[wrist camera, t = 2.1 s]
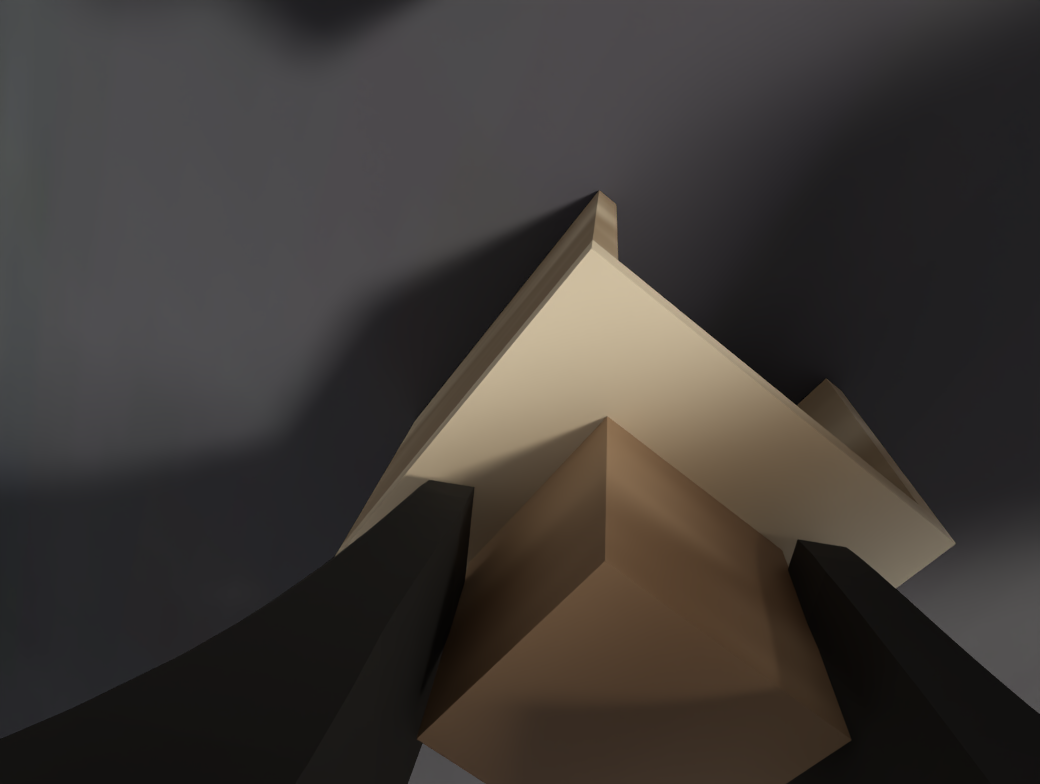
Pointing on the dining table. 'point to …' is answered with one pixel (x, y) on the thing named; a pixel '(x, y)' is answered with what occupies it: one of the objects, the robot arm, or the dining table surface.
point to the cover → (639, 539)
